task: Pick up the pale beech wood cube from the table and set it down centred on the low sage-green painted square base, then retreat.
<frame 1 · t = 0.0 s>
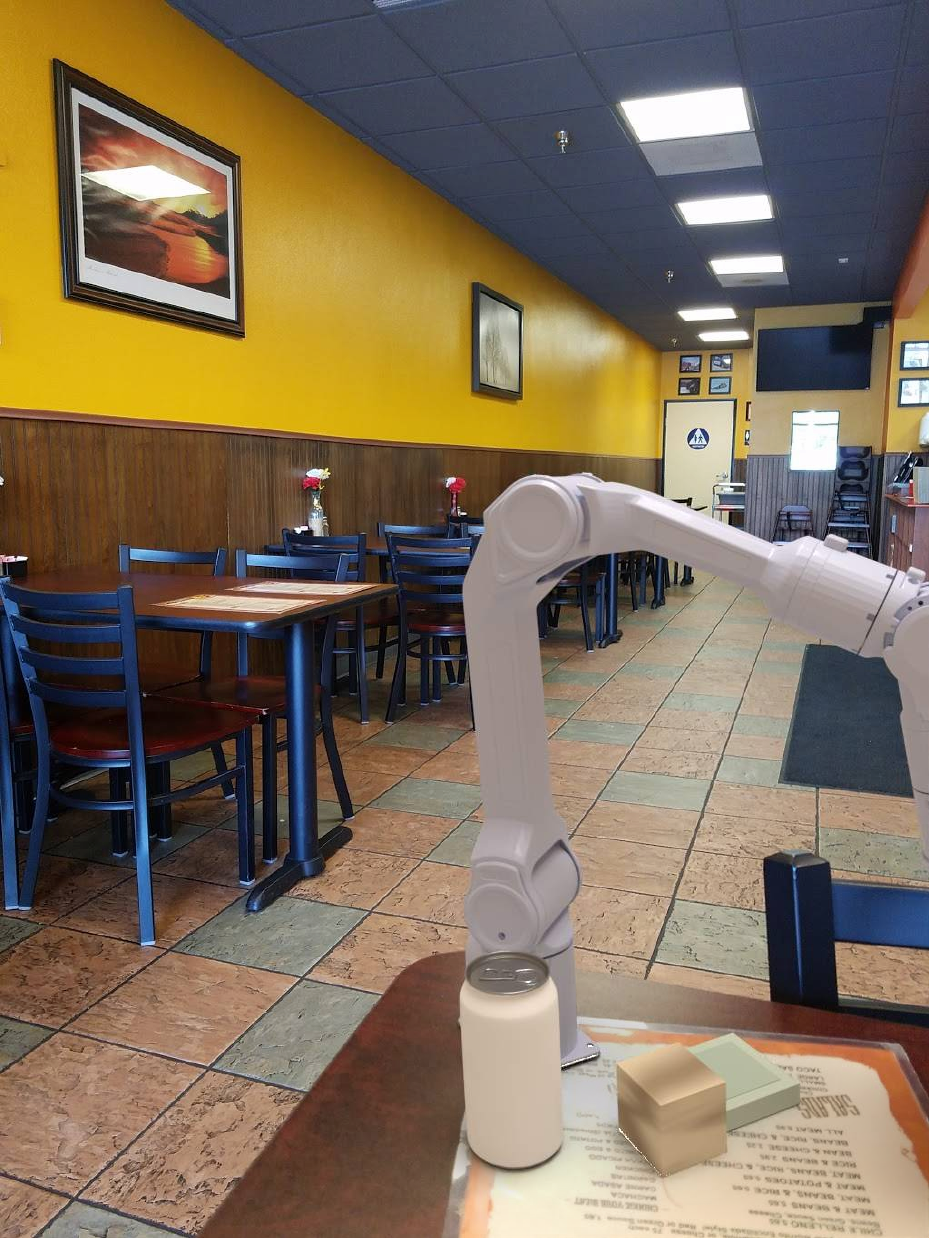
can: (515, 1141, 64), on the table
base: (726, 1090, 68), on the table
block: (671, 1142, 63), on the table
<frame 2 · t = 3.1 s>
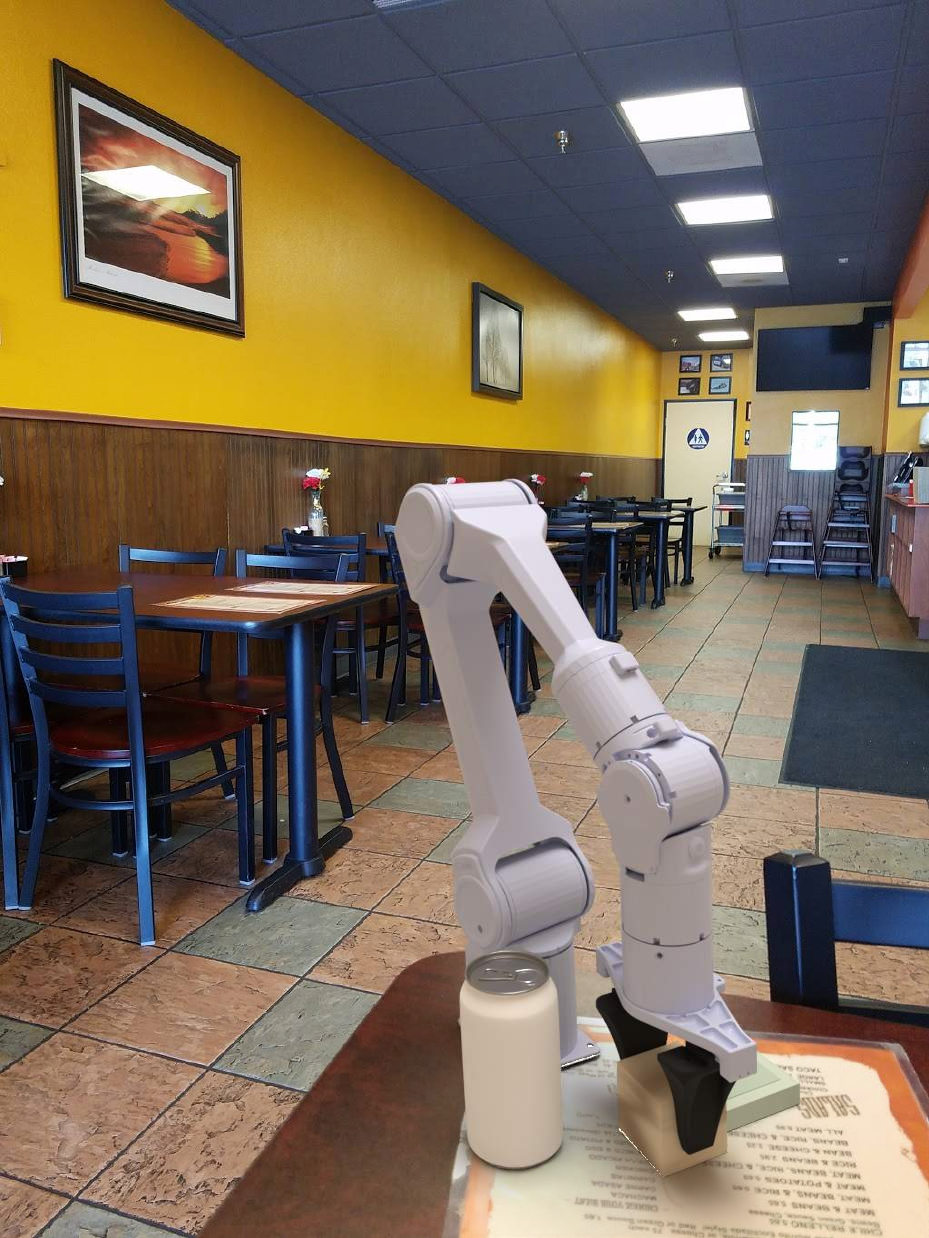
hand: (671, 1121, 63), 1 cm above the table, tool pointing down, fingers closed on block, 5 cm apart
block: (671, 1140, 63), on the table, touching gripper
everything else where it was.
when the fingers open (4 cm above the table, at t = 6.1 s): block stays where it is, resting on base.
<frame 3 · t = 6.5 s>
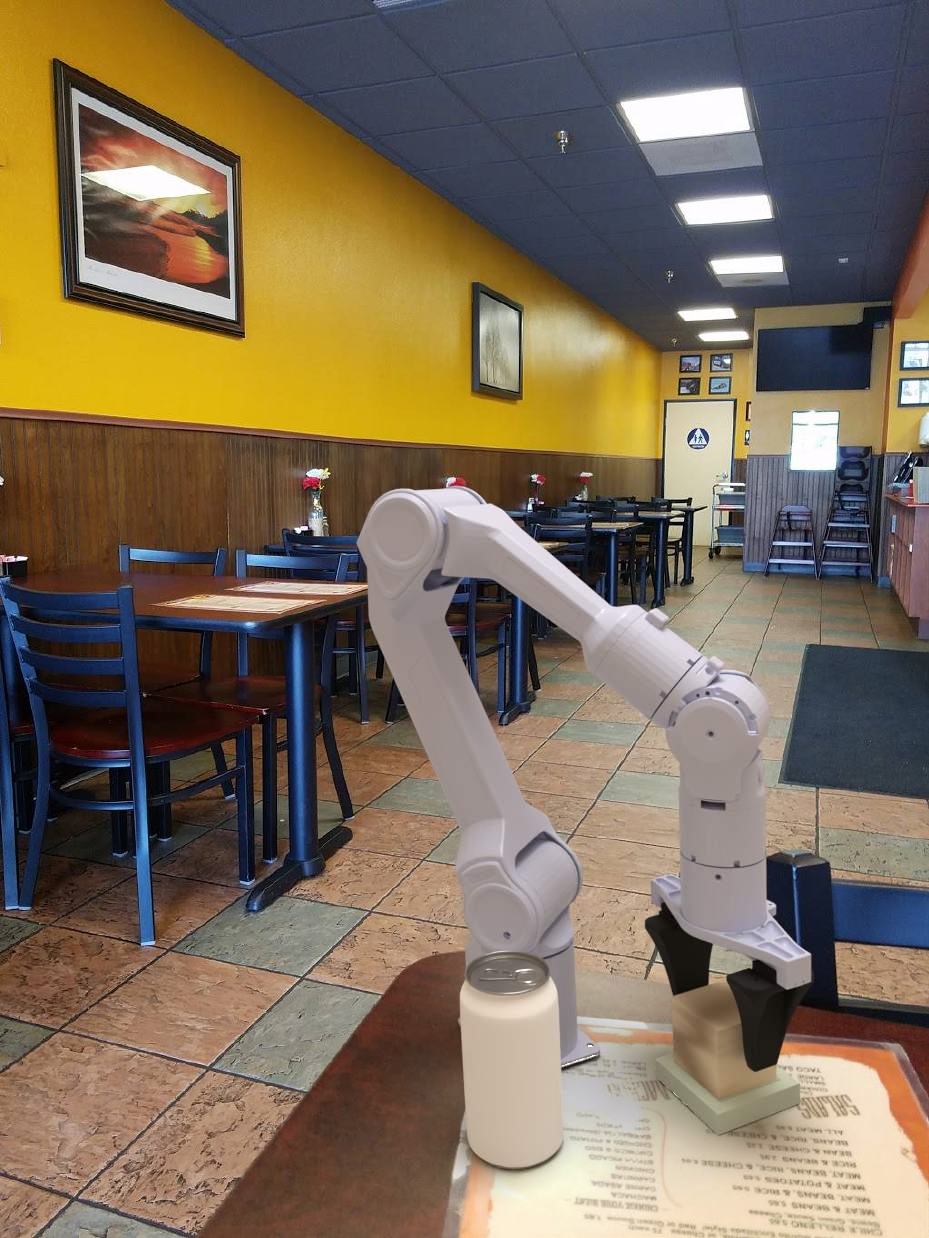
hand: (725, 1036, 67), 4 cm above the table, tool pointing down, fingers open, 7 cm apart
block: (724, 1069, 67), point 2 cm above the table, touching base
everything else where it was.
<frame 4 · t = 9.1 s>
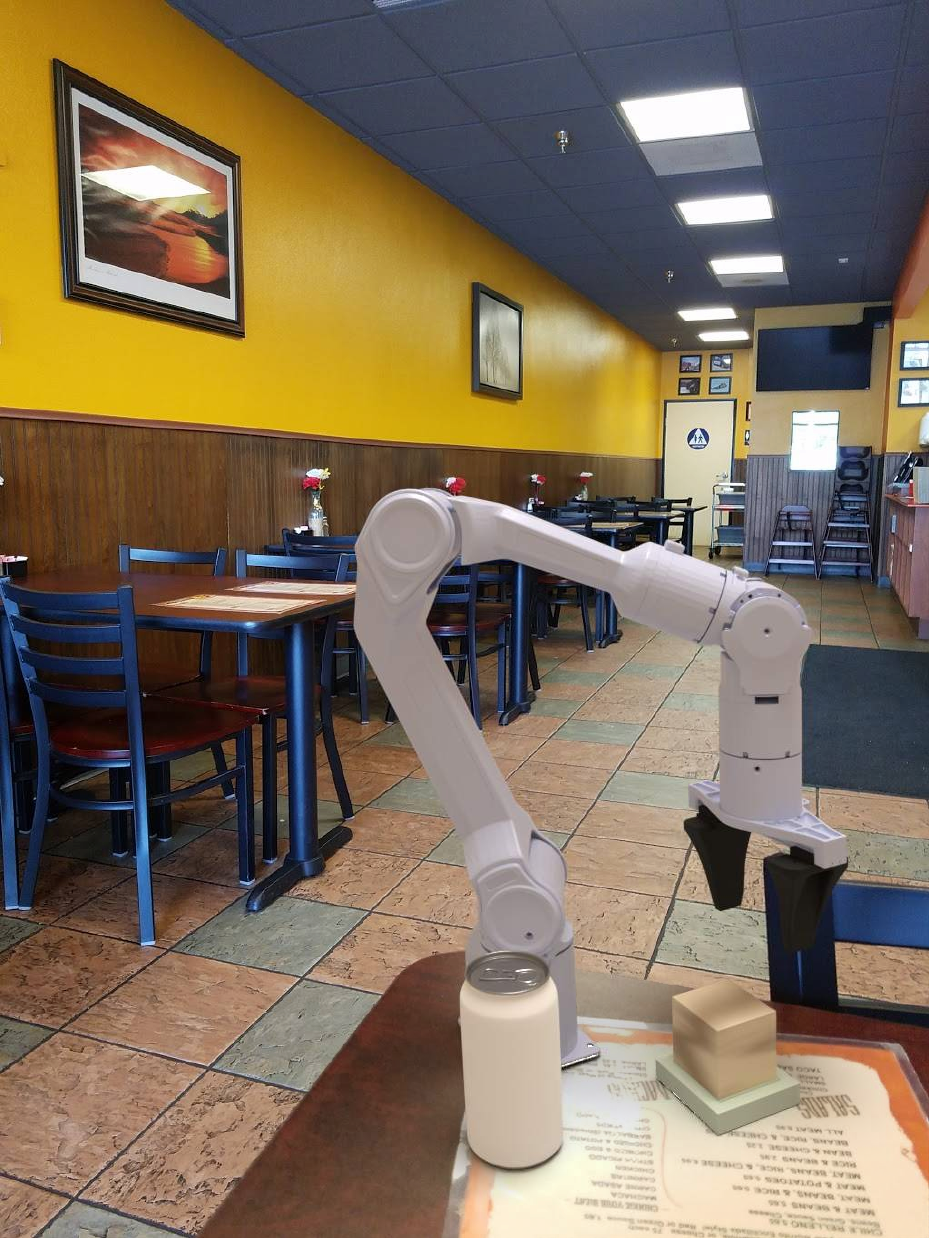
hand: (761, 926, 71), 10 cm above the table, tool pointing down, fingers open, 7 cm apart
nothing on the table moved.
at the end: block 0.1 cm off-centre on the base, point 1.6 cm above the base's base; block tilted 0°; the gripper is holding nothing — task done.
